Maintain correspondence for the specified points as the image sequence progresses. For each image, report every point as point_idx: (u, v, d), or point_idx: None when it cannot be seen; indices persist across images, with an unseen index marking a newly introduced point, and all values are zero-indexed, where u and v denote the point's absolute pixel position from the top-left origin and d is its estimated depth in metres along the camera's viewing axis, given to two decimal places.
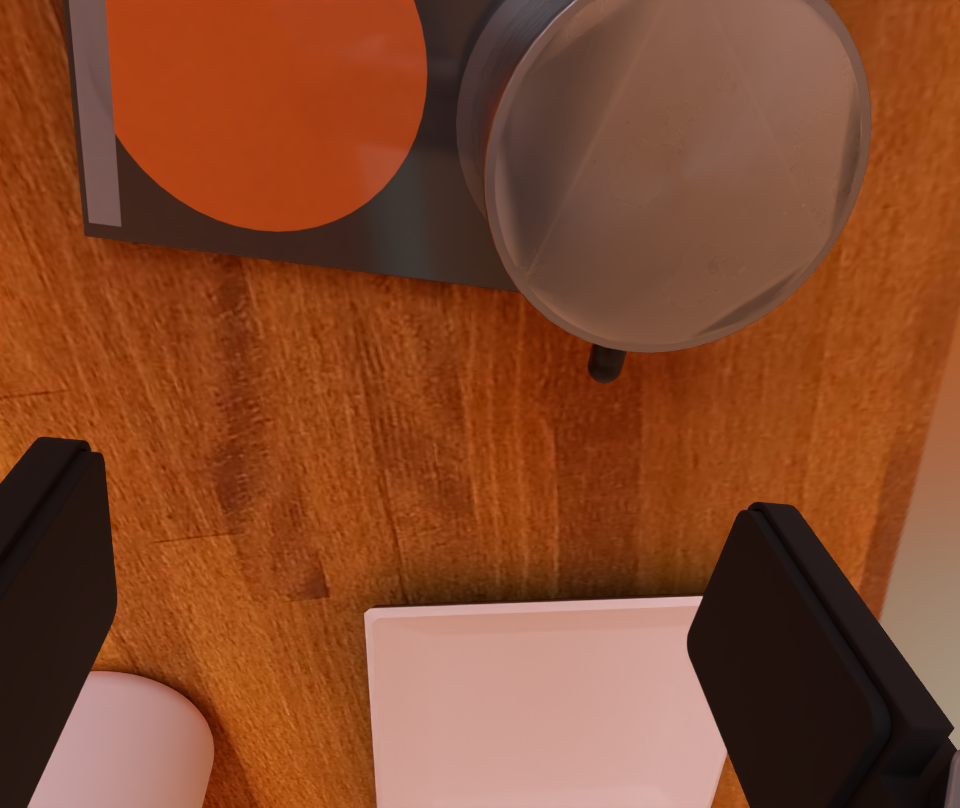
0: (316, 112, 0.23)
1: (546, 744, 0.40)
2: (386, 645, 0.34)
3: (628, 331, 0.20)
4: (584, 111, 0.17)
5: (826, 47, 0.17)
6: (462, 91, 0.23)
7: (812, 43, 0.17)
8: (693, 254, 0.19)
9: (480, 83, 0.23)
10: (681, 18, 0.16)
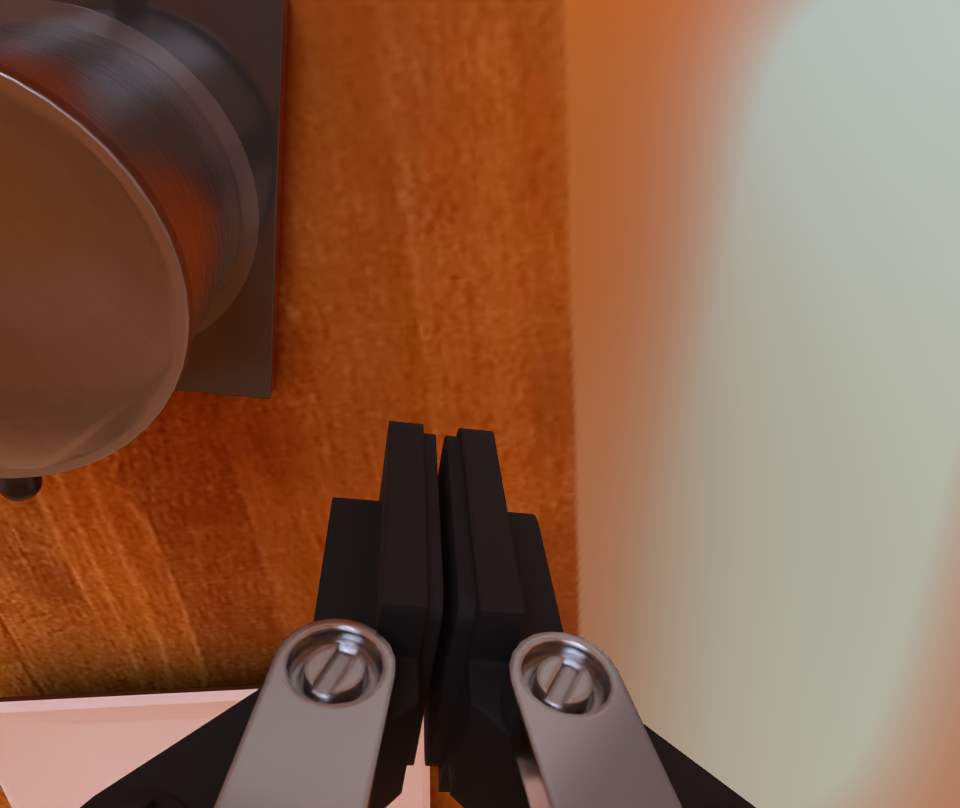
0: None
1: None
2: (3, 738, 0.31)
3: None
4: None
5: (62, 145, 0.14)
6: None
7: (42, 141, 0.14)
8: (11, 374, 0.16)
9: None
10: None
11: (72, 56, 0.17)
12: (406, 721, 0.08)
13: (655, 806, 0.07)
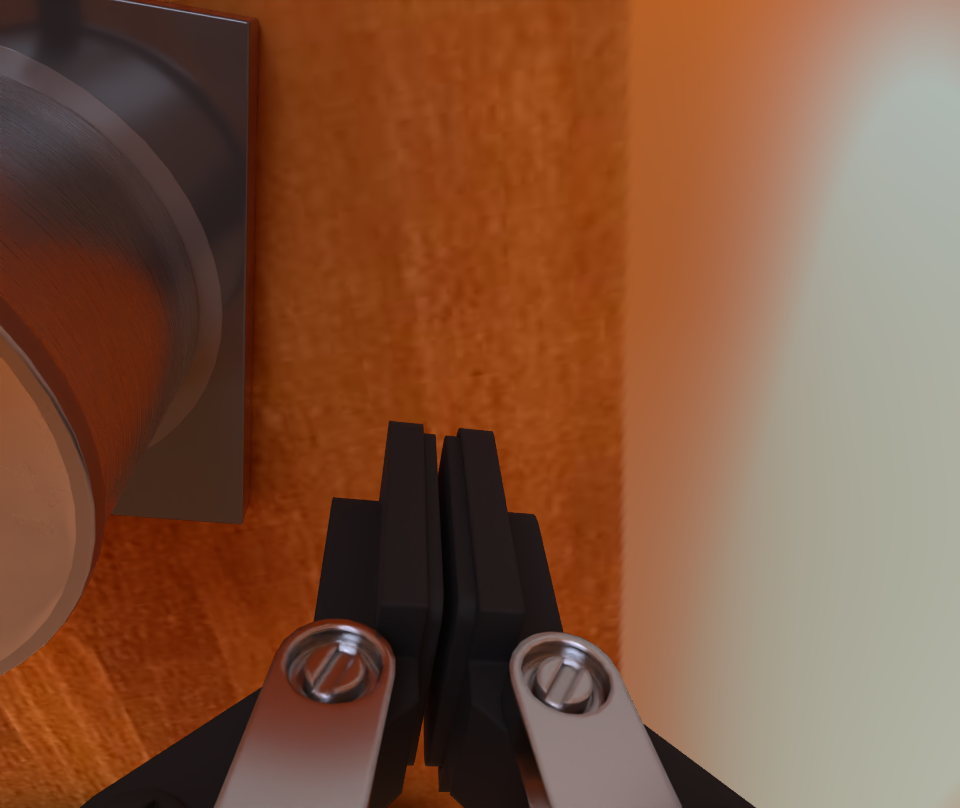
0: None
1: None
2: None
3: None
4: None
5: None
6: None
7: None
8: None
9: None
10: None
11: None
12: (406, 721, 0.08)
13: (655, 806, 0.07)
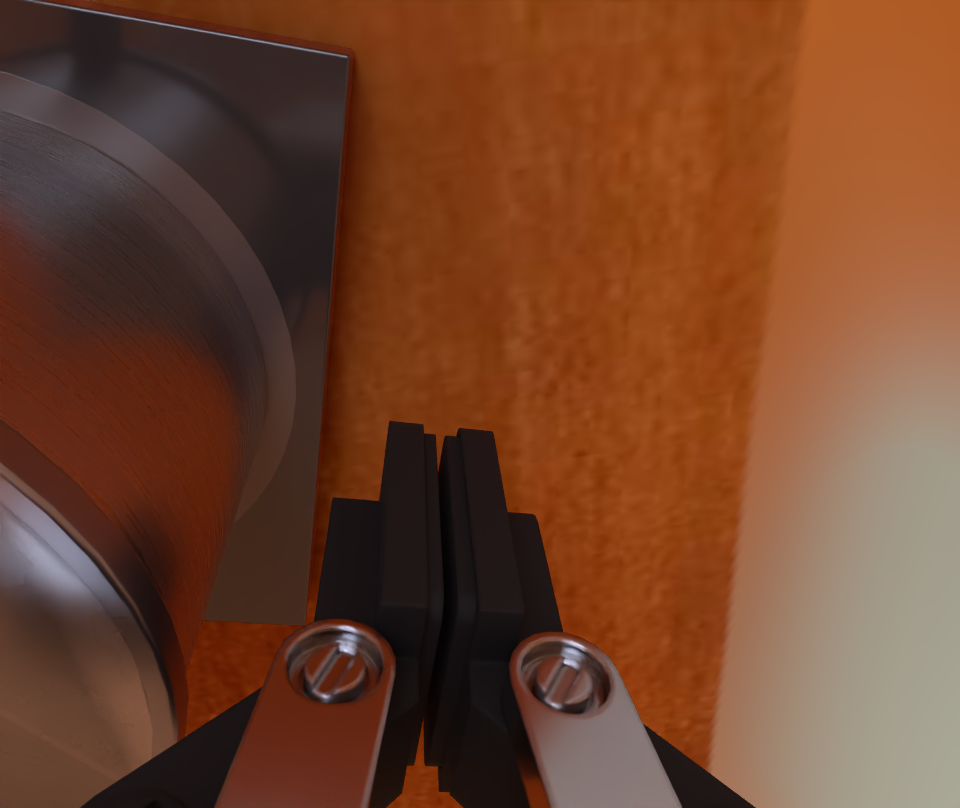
0: None
1: None
2: None
3: None
4: None
5: None
6: None
7: None
8: None
9: None
10: None
11: None
12: (406, 721, 0.08)
13: (655, 806, 0.07)
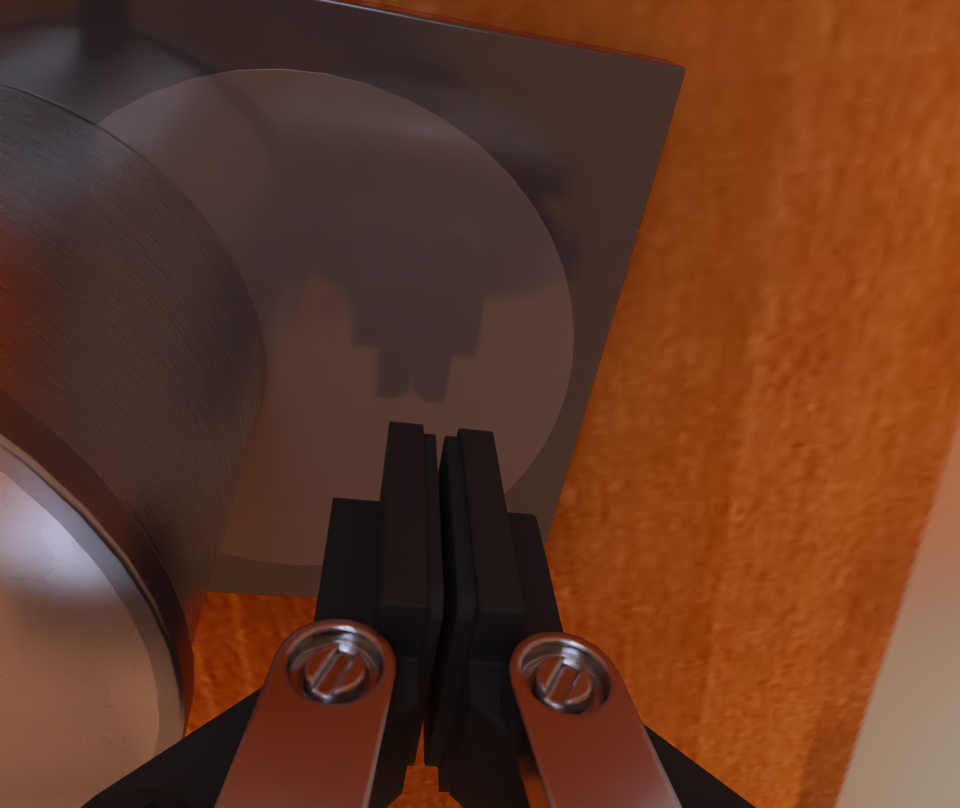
0: None
1: None
2: None
3: None
4: None
5: None
6: None
7: None
8: None
9: None
10: None
11: None
12: (406, 721, 0.08)
13: (655, 806, 0.07)
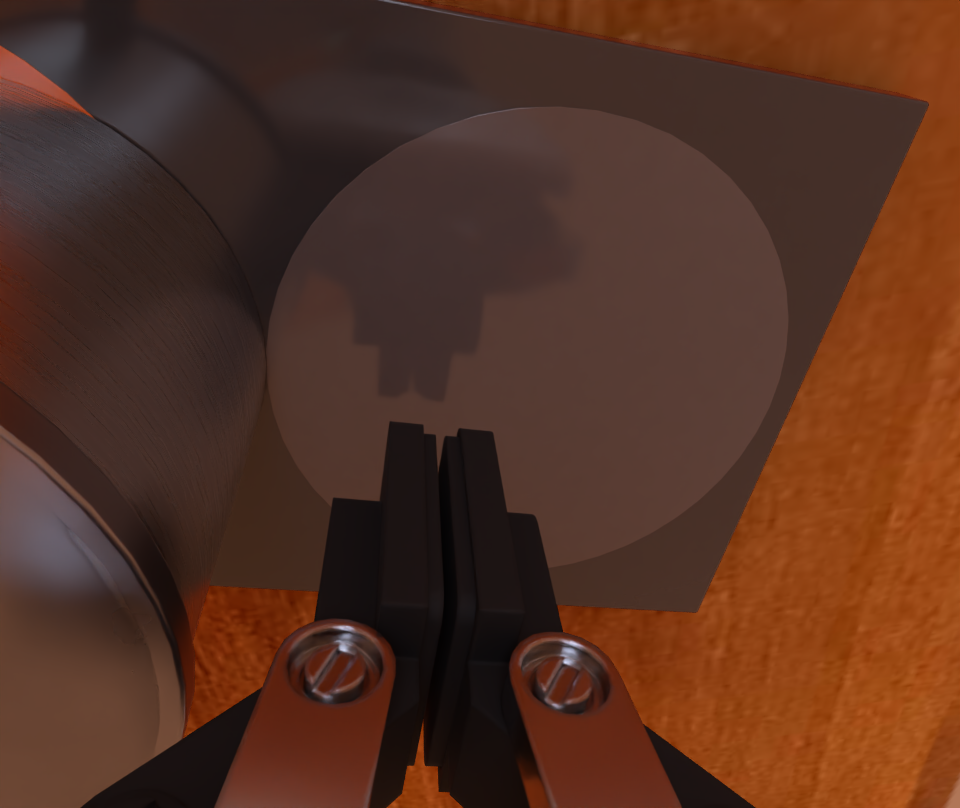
0: None
1: None
2: None
3: None
4: None
5: None
6: (272, 338, 0.13)
7: None
8: None
9: None
10: None
11: None
12: (406, 721, 0.08)
13: (655, 805, 0.07)
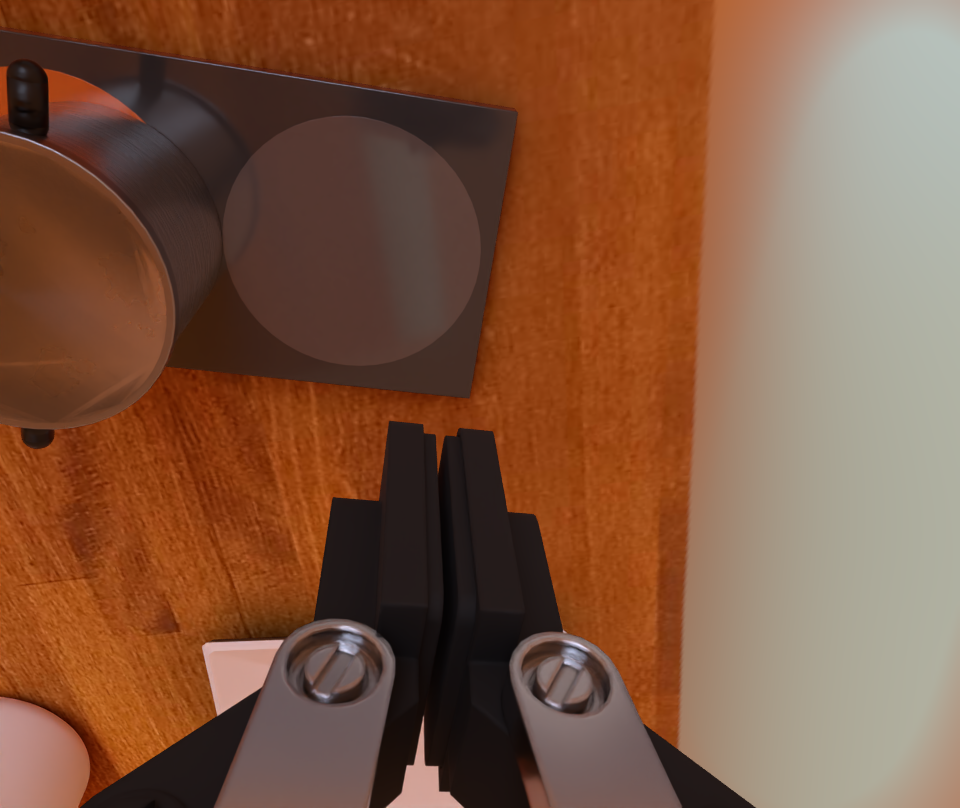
0: None
1: None
2: (226, 673, 0.39)
3: (10, 411, 0.24)
4: None
5: (101, 205, 0.21)
6: (225, 227, 0.28)
7: (88, 201, 0.21)
8: (46, 354, 0.23)
9: None
10: None
11: (110, 137, 0.24)
12: (406, 721, 0.08)
13: (655, 806, 0.07)
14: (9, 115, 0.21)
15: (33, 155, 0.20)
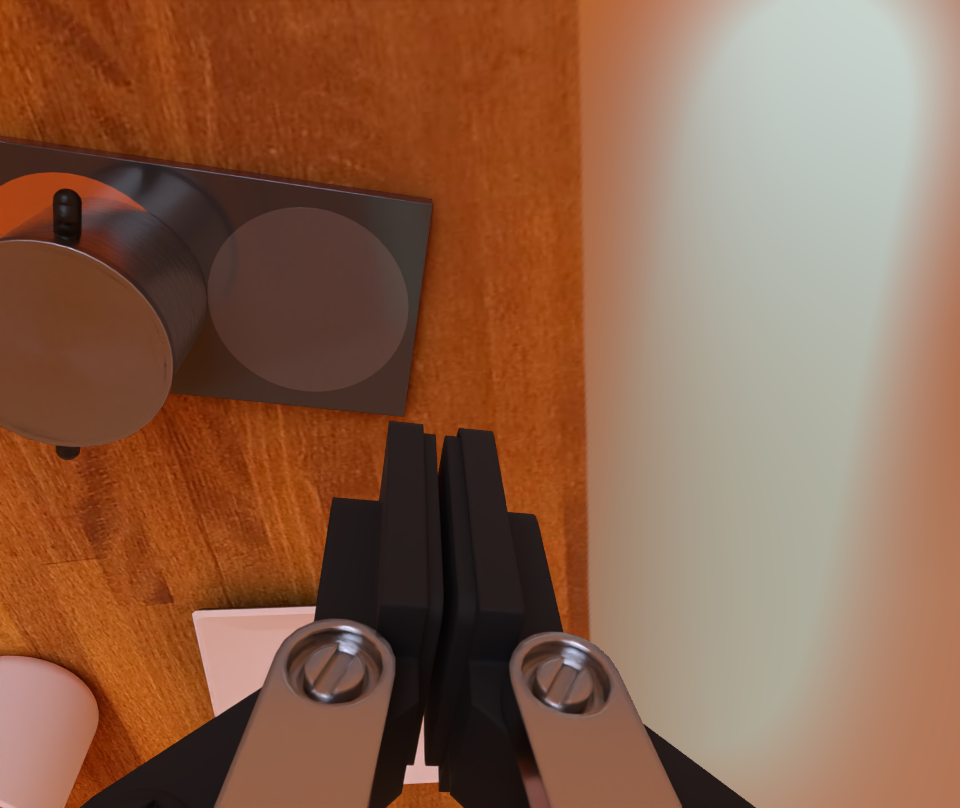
0: None
1: None
2: (212, 636, 0.48)
3: (50, 433, 0.32)
4: None
5: (120, 291, 0.30)
6: (209, 287, 0.37)
7: (111, 288, 0.29)
8: (77, 393, 0.32)
9: None
10: (25, 271, 0.29)
11: (124, 232, 0.32)
12: (406, 721, 0.08)
13: (655, 806, 0.07)
14: (54, 227, 0.29)
15: (72, 258, 0.29)
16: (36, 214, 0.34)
